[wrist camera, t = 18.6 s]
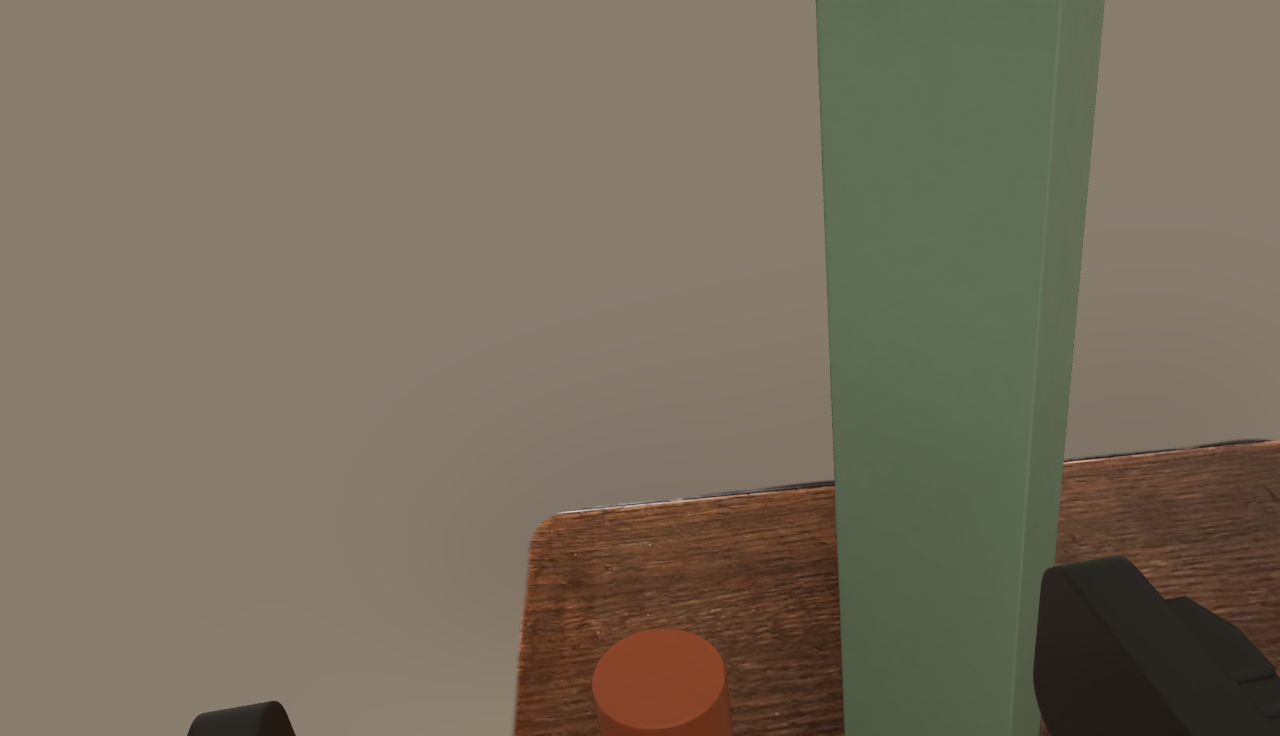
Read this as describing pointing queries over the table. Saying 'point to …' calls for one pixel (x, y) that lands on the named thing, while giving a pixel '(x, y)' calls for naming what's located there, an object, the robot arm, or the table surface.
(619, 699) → the marker
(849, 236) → the holder
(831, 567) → the table surface
